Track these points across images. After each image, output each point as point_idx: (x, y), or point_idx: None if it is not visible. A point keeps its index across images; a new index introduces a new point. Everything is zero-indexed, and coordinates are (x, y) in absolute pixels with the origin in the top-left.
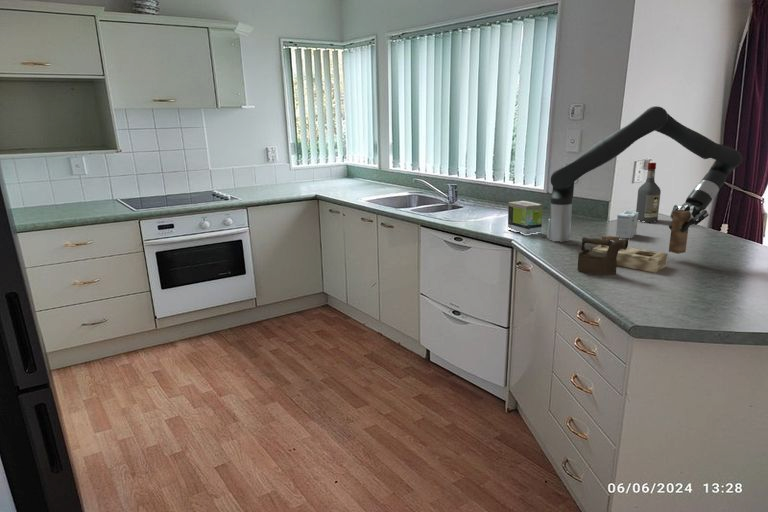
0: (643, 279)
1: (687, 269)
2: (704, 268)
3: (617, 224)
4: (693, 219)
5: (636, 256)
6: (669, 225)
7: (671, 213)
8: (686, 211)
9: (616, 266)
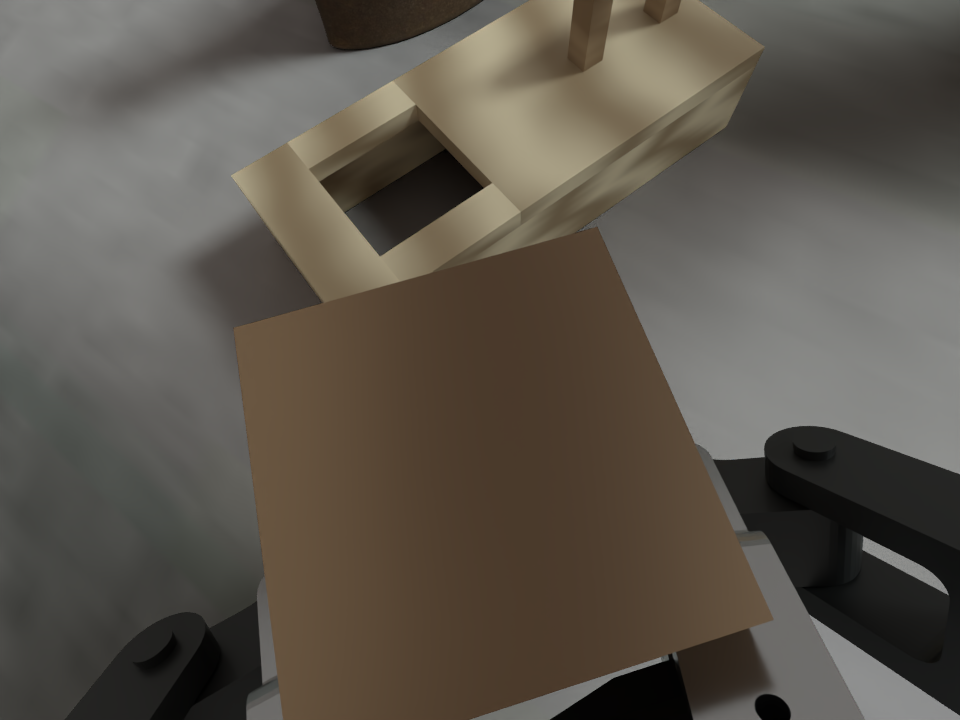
0: (200, 124)
1: None
2: None
3: None
4: (142, 646)
5: (364, 101)
6: None
7: (934, 473)
8: (350, 589)
9: (318, 5)
